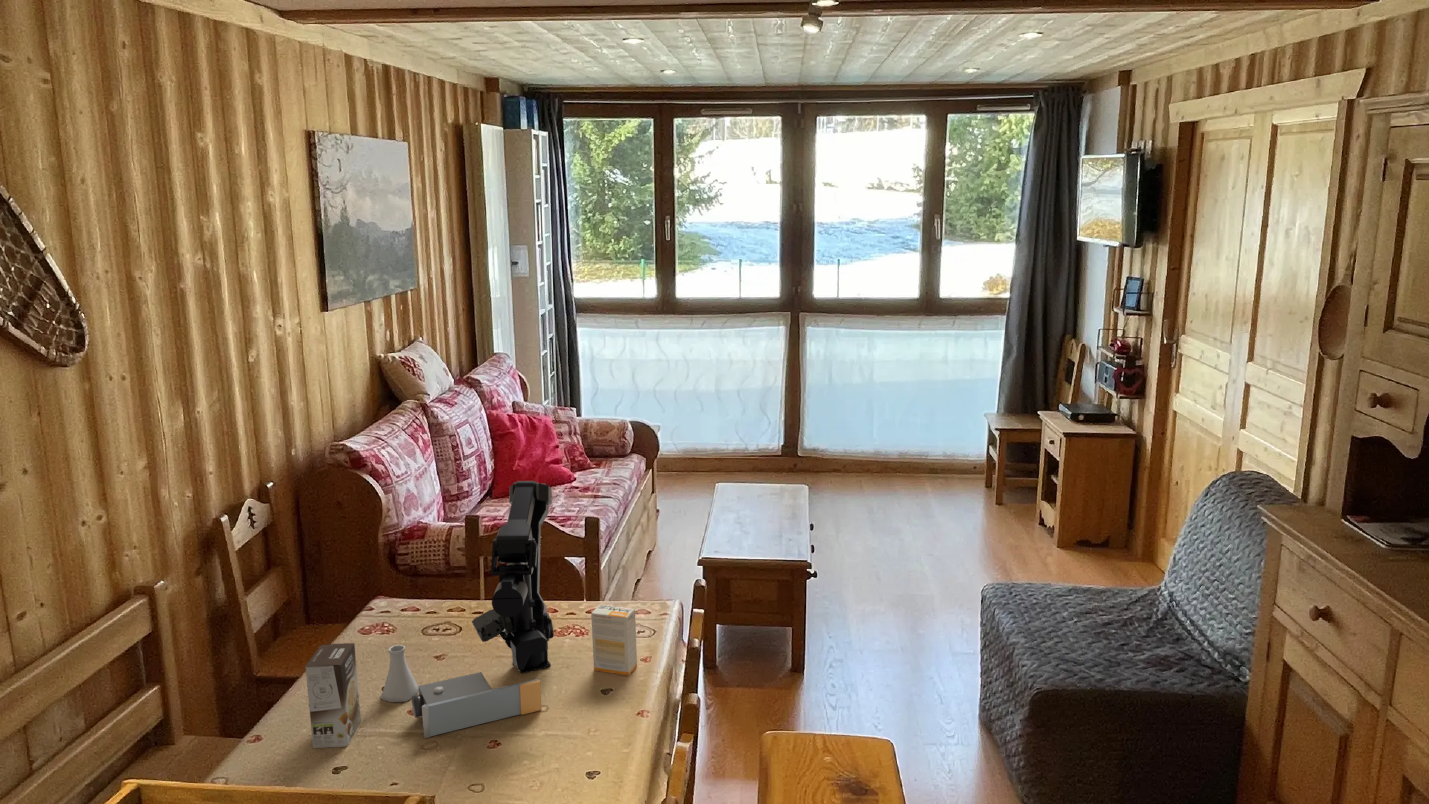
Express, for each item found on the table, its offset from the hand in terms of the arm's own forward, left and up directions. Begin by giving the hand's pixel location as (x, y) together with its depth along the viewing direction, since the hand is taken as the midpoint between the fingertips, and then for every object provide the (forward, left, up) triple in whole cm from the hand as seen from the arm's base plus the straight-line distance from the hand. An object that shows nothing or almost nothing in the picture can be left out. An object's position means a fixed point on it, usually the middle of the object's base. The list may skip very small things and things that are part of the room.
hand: (520, 669), depth 195 cm
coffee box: (+34, -3, -6) cm, 35 cm away
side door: (+9, +6, -6) cm, 12 cm away
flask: (+21, -13, -6) cm, 26 cm away
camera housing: (+13, +1, -6) cm, 14 cm away
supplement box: (-21, -3, -6) cm, 22 cm away
